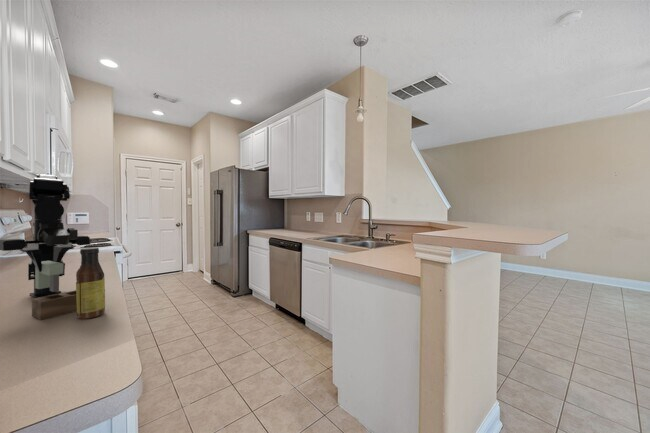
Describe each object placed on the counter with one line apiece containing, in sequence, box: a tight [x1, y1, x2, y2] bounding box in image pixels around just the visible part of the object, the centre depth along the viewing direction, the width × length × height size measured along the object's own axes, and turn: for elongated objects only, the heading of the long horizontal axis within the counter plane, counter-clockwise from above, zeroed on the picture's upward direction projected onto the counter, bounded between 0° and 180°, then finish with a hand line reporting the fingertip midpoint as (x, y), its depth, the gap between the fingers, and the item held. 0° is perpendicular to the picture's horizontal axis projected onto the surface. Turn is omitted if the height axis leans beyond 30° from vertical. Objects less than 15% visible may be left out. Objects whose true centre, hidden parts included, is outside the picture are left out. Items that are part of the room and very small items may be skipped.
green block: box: [35, 261, 64, 292], centre depth 79 cm, size 10×3×8 cm, turn 64°
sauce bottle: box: [75, 247, 106, 320], centre depth 76 cm, size 6×6×20 cm
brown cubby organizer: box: [31, 289, 77, 321], centre depth 79 cm, size 6×12×5 cm, turn 154°
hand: (47, 270), depth 79 cm, fingers closed on green block, 3 cm apart
